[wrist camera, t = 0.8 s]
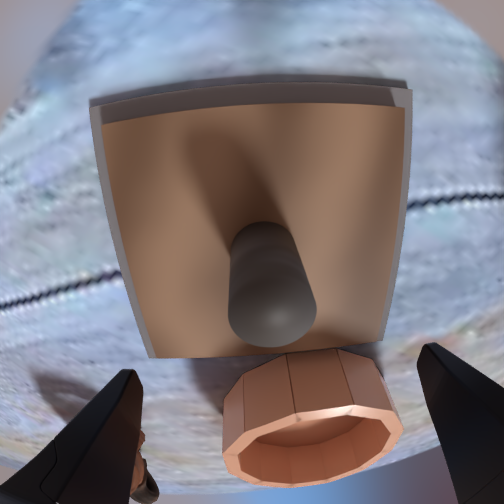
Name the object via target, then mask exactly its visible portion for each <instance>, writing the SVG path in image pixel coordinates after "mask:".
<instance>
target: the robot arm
mask: <svg viewBox="0 0 504 504" xmlns="http://www.w3.org/2000/svg"><path fill="white" fill-rule="evenodd" d="M417 370H418V374H419V377H420V381H421V385H422V388H423V392H424V396H425V400H426V404H427V407H428V410H429V413H430V416H431V418H432V421H433V424H434V427H435V430H436V432H437V435H438V438H439V441H440V444H441V447H442V450H443V453H444V456H445V459H446V463H447V466H448V469H449V472H450V475H451V479H452V482H453V486H454V489H455V493H456V496H457V500H458V504H504V388H503V387H502V386H500V385H499V384H497V383H496V382H494V381H493V380H491V379H490V378H488V377H487V376H485V375H484V374H482V373H481V372H480V371H478V370H477V369H475V368H474V367H472V366H471V365H469V364H468V363H466V362H465V361H463V360H462V359H460V358H459V357H457V356H456V355H454V354H453V353H451V352H449V351H448V350H446V349H445V348H443V347H442V346H440V345H439V344H437V343H435V342H432V343H428V344H424V346H423V347H422V350H421V352H420V355H419V358H418V361H417ZM142 403H143V386H142V384H141V382H140V379H139V377H138V375H137V373H136V371H135V370H133V369H122V370H121V371H119V373H118V374H117V375H116V376H115V377H114V378H113V379H112V380H111V381H110V382H109V383H108V384H107V385H106V386H105V387H104V388H103V389H102V390H101V391H100V392H99V393H98V394H97V395H96V396H95V397H94V398H93V399H92V400H91V401H90V402H89V403H88V404H87V405H86V406H85V407H84V408H83V409H82V410H81V411H80V412H79V413H78V414H77V415H76V416H75V417H74V418H73V419H72V420H71V421H70V422H69V423H68V424H67V425H66V426H65V427H64V428H63V430H62V431H61V432H60V433H59V434H58V435H57V436H56V437H55V438H54V440H52V441H51V442H50V443H49V444H48V445H47V446H46V447H45V448H44V449H43V450H42V451H41V452H40V453H39V454H38V455H37V456H35V457H34V458H33V459H32V460H31V461H30V462H29V463H27V464H26V465H25V466H24V467H23V468H21V469H20V470H19V471H18V472H17V473H15V474H14V475H13V476H12V477H10V478H9V479H8V480H7V481H6V482H4V483H3V484H2V485H0V504H129V497H130V491H131V484H132V478H133V472H134V466H135V460H136V455H137V449H138V444H139V438H140V430H141V416H142Z"/></svg>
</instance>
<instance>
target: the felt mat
mask: <svg viewBox="0 0 504 504" xmlns="http://www.w3.org/2000/svg"><path fill="white" fill-rule="evenodd" d="M268 103H349V104H368V105H383V106H394V107H402V108H405V133H404V157H403V173H402V186H401V197H400V207H399V216H398V225H397V233H396V240H395V247H394V254H393V261H392V267H391V273H390V279H389V284H388V290H387V295H386V300H385V305H384V310H383V315H382V320H381V324H380V329H379V333H378V337H377V341H382V340H383V336H384V332H385V328H386V324H387V320H388V315H389V311H390V306H391V301H392V297H393V292H394V287H395V281H396V276H397V270H398V265H399V259H400V253H401V246H402V239H403V232H404V225H405V217H406V208H407V199H408V189H409V177H410V163H411V146H412V89H404V88H396V87H386V86H376V85H364V84H349V83H327V82H272V83H250V84H234V85H222V86H211V87H202V88H193V89H185V90H178V91H171V92H165V93H158V94H152V95H146V96H141V97H136V98H130V99H125V100H121V101H116V102H111V103H107V104H103V105H98V106H94V107H90V108H89V112H90V121H91V128H92V136H93V142H94V149H95V155H96V161H97V167H98V173H99V178H100V184H101V189H102V194H103V199H104V204H105V208H106V213H107V217H108V222H109V226H110V230H111V235H112V239H113V243H114V247H115V251H116V255H117V258H118V262H119V266H120V269H121V273H122V277H123V280H124V284H125V287H126V290H127V294H128V297H129V300H130V304H131V307H132V310H133V313H134V316H135V319H136V322H137V325H138V328H139V331H140V334H141V337H142V340H143V343H144V346H145V348H146V351H147V354H148V357H149V358H156V355H155V352H154V349H153V346H152V343H151V340H150V337H149V334H148V331H147V328H146V325H145V322H144V319H143V315H142V312H141V309H140V305H139V302H138V299H137V295H136V292H135V288H134V285H133V281H132V277H131V274H130V270H129V266H128V262H127V258H126V254H125V250H124V246H123V242H122V238H121V234H120V229H119V225H118V220H117V216H116V211H115V206H114V201H113V196H112V191H111V186H110V180H109V175H108V169H107V163H106V157H105V150H104V144H103V137H102V129H101V125H103V124H107V123H112V122H117V121H122V120H127V119H132V118H138V117H144V116H150V115H156V114H163V113H169V112H177V111H184V110H193V109H201V108H211V107H222V106H234V105H249V104H268Z"/></svg>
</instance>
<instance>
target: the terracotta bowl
mask: <svg viewBox="0 0 504 504" xmlns="http://www.w3.org/2000/svg"><path fill="white" fill-rule="evenodd" d="M403 430H404V427H403V425H402V422H401V420H400V417H399V415H398V412H397V410H396V407H395V405H394V402H393V400H392V397H391V395H390V392H389V390H388V388H387V385H386V383H385V381H384V379H383V377H382V375H381V374H380V372H379V370H378V368H377V367H376V365H375V363H374V362H373V360H372V359H370V358H366V357H363V356H360V355H356V354H353V353H350V352H347V351H344V350H340V349H337V348H333V349H325V350H316V351H307V352H298V353H287V355H286V354H284V355H282V356H280V357H278V358H276V359H274V360H272V361H269V362H267V363H265V364H263V365H261V366H259V367H257V368H254V369H252V370H250V371H248V372H246V373H244V374H242V376H241V377H240V378H239V380H238V381H237V382H236V384H235V385H234V386H233V388H232V389H231V390H230V392H229V393H228V394H227V396H226V397H225V398H224V407H223V448H222V454H223V458H224V461H225V464H226V467H227V470H228V472H229V473H230V474H232V475H234V476H237V477H239V478H241V479H243V480H245V481H247V482H249V483H251V484H254V485H262V486H272V487H283V488H294V487H302V486H309V485H317V484H323V483H328V482H332V481H335V480H337V479H340V478H343V477H346V476H349V475H351V474H354V473H356V472H359V471H362V470H364V469H366V468H367V467H369V466H370V465H372V464H373V463H375V462H376V461H377V460H379V459H380V458H382V457H383V456H384V455H386V454H387V453H389V452H390V451H391V450H392V449H393V447H394V446H395V444H396V442H397V441H398V439H399V437H400V435H401V433H402V432H403Z"/></svg>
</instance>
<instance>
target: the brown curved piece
mask: <svg viewBox="0 0 504 504" xmlns="http://www.w3.org/2000/svg"><path fill="white" fill-rule="evenodd" d="M144 441H145V434H144V433H143V432H142V431H141V430H140V438H139V444H138V449H137V455H136V460H135V466H134V472H133V478H132V484H131V491H130V497H131V498H132V499H133V500H135V501H137V502H139V503H141V504H152V503H153V502H155V501H157V499H158V497H159V489H158V486H157V484H156V482H155V481H154V479H153V477H152V476H151V474H150V473H149V472H148V470H147V463H146V459H143V458H142V456H141V454H140V452H139V449H140V447H141V445H142V444H143V442H144Z"/></svg>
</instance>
